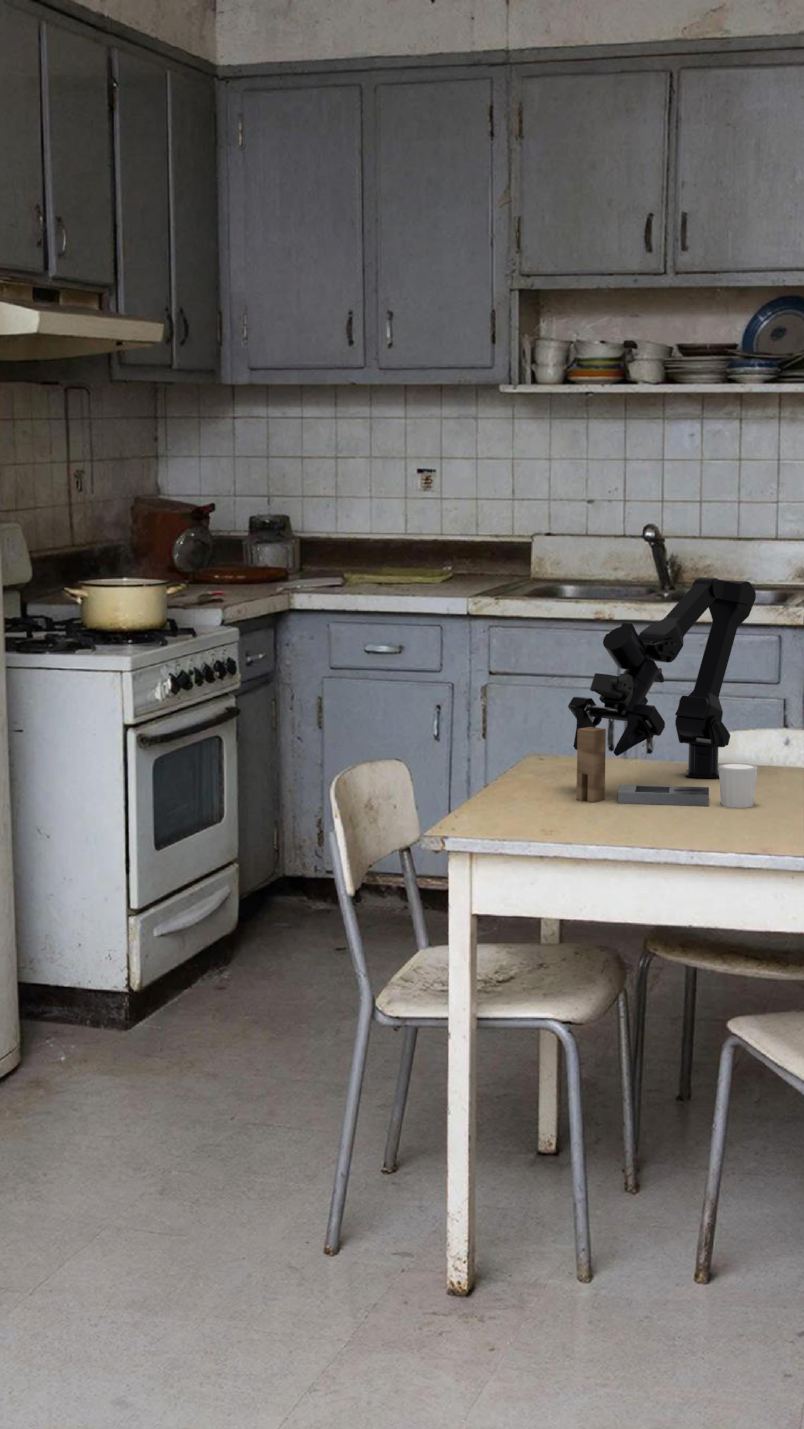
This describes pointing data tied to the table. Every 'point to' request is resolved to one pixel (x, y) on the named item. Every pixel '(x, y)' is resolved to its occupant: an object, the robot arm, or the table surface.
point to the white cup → (737, 784)
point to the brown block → (591, 764)
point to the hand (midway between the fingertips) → (595, 751)
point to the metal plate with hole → (663, 795)
